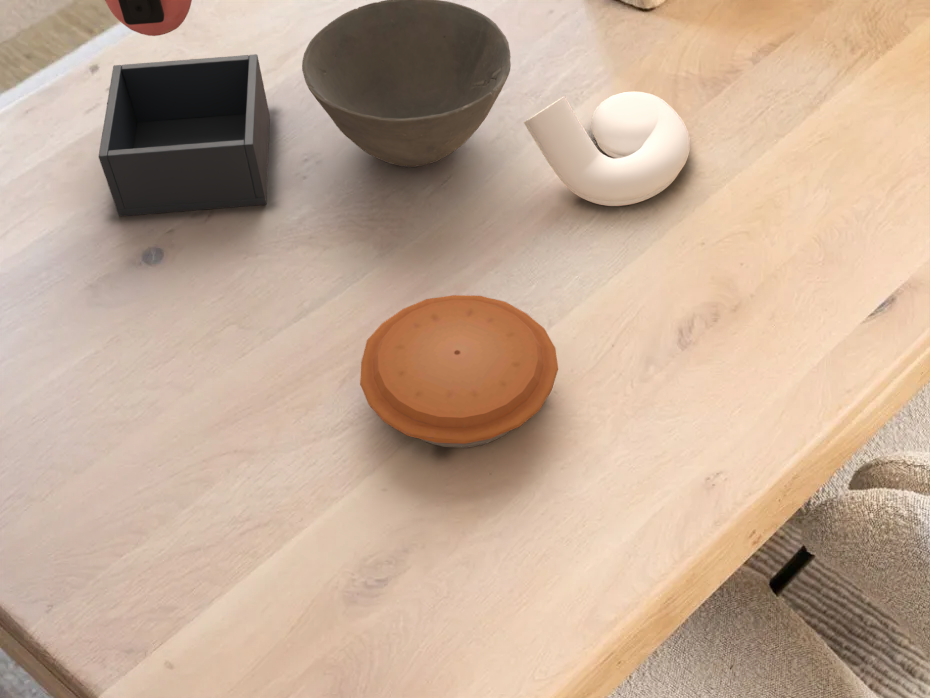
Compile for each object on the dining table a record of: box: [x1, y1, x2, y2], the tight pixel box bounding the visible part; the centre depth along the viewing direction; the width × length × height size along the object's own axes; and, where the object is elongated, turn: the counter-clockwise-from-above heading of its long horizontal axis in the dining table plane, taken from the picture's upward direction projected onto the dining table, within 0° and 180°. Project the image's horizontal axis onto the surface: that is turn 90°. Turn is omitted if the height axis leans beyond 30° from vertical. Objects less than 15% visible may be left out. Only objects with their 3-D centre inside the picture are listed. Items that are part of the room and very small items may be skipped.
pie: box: [359, 294, 559, 449], centre depth 98 cm, size 15×16×5 cm
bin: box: [98, 53, 270, 217], centre depth 116 cm, size 14×14×7 cm
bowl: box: [301, 0, 512, 168], centre depth 115 cm, size 19×19×10 cm
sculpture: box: [523, 91, 691, 207], centre depth 113 cm, size 12×15×8 cm
